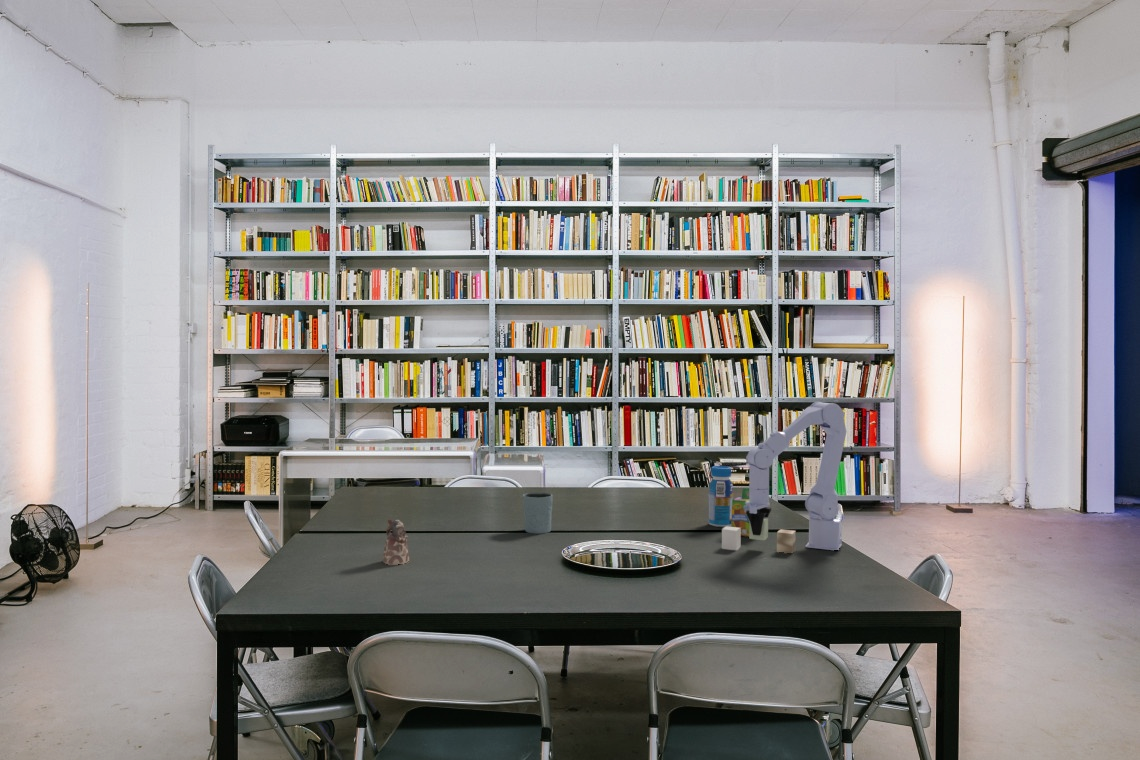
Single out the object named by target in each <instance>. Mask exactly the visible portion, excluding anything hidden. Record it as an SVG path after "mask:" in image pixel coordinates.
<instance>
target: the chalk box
mask: <svg viewBox="0 0 1140 760" xmlns="http://www.w3.org/2000/svg"><path fill="white" fill-rule="evenodd" d="M741 493H742V494H741V495H740V496H738V497H735V498H733V500H732V521H731V526H730V527H738V528H741V537H747V538H748V537H749V518H748V516H747V514H746V511H747V510H750V507H749V505H747V504H745V502H746V501H749V495H747V493H749V488H747V487H746V488H745V487H744V488H742V492H741Z"/></svg>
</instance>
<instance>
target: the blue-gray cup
mask: <svg viewBox="0 0 1140 760" xmlns="http://www.w3.org/2000/svg"><path fill="white" fill-rule="evenodd" d="M553 502H554V501H553V494H552V493H550V492H527V493H523V494H522V503H523V515H524V517H523V518H524V530H525V532H526V533H529V534H546V533H550V532H551V531H552V513H553Z"/></svg>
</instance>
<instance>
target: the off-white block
mask: <svg viewBox="0 0 1140 760" xmlns="http://www.w3.org/2000/svg"><path fill="white" fill-rule="evenodd" d="M741 537H742V536H741V528H738V527H731V526H726V527H722V528H721V549H722V550H729V551H738V550H739V549H741V546H742V545H741V541H742V540H741V539H742V538H741Z"/></svg>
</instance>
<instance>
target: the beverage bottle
mask: <svg viewBox="0 0 1140 760" xmlns="http://www.w3.org/2000/svg"><path fill="white" fill-rule="evenodd" d="M710 468H711V469H710V474H711V477H712V479H711V480H710V482H709V485H708V488H709V492H708V524H709V525H710V526H712V527H719V528H724V527H726V526H729V527H731V521H732V500H734V492H733V489H734V485H733V483H732V481H731V479H730V478H731V477H732V468H731V466H728V465H727V466H726V465H715V466H714V465H713V466H712V467H710Z"/></svg>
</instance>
